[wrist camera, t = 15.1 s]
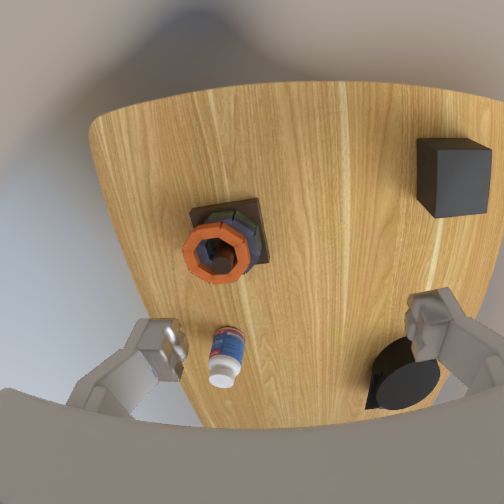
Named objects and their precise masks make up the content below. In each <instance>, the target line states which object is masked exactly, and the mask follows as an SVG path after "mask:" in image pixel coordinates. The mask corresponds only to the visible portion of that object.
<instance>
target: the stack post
mask: <svg viewBox="0 0 504 504" xmlns="http://www.w3.org/2000/svg"><path fill="white" fill-rule="evenodd" d="M189 214H190V217H191V221H192V224H193V227H194V228H195V227H197V226H198V225H202V224H209V223H216V222H221V223H222V224H223V222H224V223H226V224H227V225H229V226H231V227H232V228H234V229H235V230H237V231H238V232H240V233H242V234H243V235H244V237H246V239H247V244H248V248H249V252H250V257H251V259H250V264H249V267H248V268H247V269H246V270H245V272H244V273H243V274H245V273H247V272H248V271H249V270H250V269H251V268H252V267H253V265H255V264H264V263H269V259H270V256H269V251H268V246H267V241H266V236H265V230H264V225H263V220H262V215H261V210H260V205H259V200H258V198H256V199H249V200H242V201H236V202H229V203H223V204H217V205H210V206H204V207H198V208H193V209H192V210H191V211H190V213H189ZM196 250H197V253H198V256H199V259H200V261H201V262H203V263H204V264H206V265H208V266H209V267H211V268H212V269H213V270H214V271H215V272H216V273H218V274H221V275H225V274H228V273H229V272H230V271H231V270H232V266H233V264H234V263H235V261H236V260H237V257H236V253H235V249H234V247H233V246H231V245H230V244H228V243H227V242H225V241H223V240H222V239H220V238H211V239H204V240H201V241H200V243H199V244H198V246H197V247H196Z"/></svg>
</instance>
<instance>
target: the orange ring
mask: <svg viewBox="0 0 504 504" xmlns="http://www.w3.org/2000/svg"><path fill="white" fill-rule="evenodd" d="M211 238H220V239H222V240H223V241H225V242H227V243H228V244H230V245H231V246H233V247H234V249H235V253H236V257H237V260H236V261H235V263H234V264H233V266H232V270H231V271H230V272H229V273H228V274H225V275H221V274H218V273H216V272H215V271H214V270H213V269H212V268H211V267H209V266H208V265H206V264H204V263H203V262H201V261H200V259H199V256H198V253H197V250H196V247H197V246H198V244H199V243H200V241H201V240H204V239H211ZM182 249H183V250H182V253H183V256H184V258H185V261H186V264H187V267H188V270H191V273H192V274H194V275H196V276H197V277H199V278H201V279H202V280H204V281H206V282H208V283H209V284H210V283H211V282H212V284H221V283H231V282H234V281H237V280H238V279H239V277H240V276H241V275H242V274H243V273H244V272H245V270H246V269H247V268H248V267H249V264H250V259H251V257H250V252H249V248H248V244H247V239H246V237H244V235H243V234H242V233H240V232H238V231H237V230H235V229H234V228H232V227H231V226H229V225H227V224H226V223H224V222H223V224H222V223H221V222H216V223H209V224H202V225H198V226H197V227H195V228H194V230H193V231H192V233H191V234H190V236H189V238H188V239H187V241H186V242H185V244H184V246H183V248H182Z"/></svg>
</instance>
